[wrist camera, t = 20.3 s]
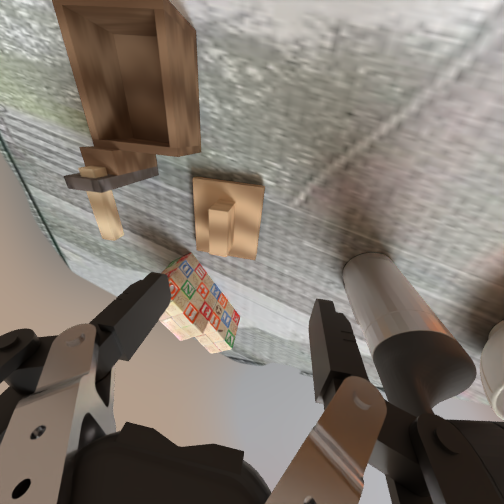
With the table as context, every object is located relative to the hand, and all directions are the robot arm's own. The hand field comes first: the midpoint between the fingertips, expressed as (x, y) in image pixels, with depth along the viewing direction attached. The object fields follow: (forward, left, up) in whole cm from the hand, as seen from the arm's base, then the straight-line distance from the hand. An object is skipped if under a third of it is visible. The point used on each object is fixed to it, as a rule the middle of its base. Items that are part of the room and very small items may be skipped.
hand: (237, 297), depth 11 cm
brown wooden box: (+9, +19, -27) cm, 34 cm away
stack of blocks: (-26, +12, -27) cm, 40 cm away
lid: (-7, +7, -27) cm, 29 cm away
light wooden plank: (-3, +23, -17) cm, 29 cm away
